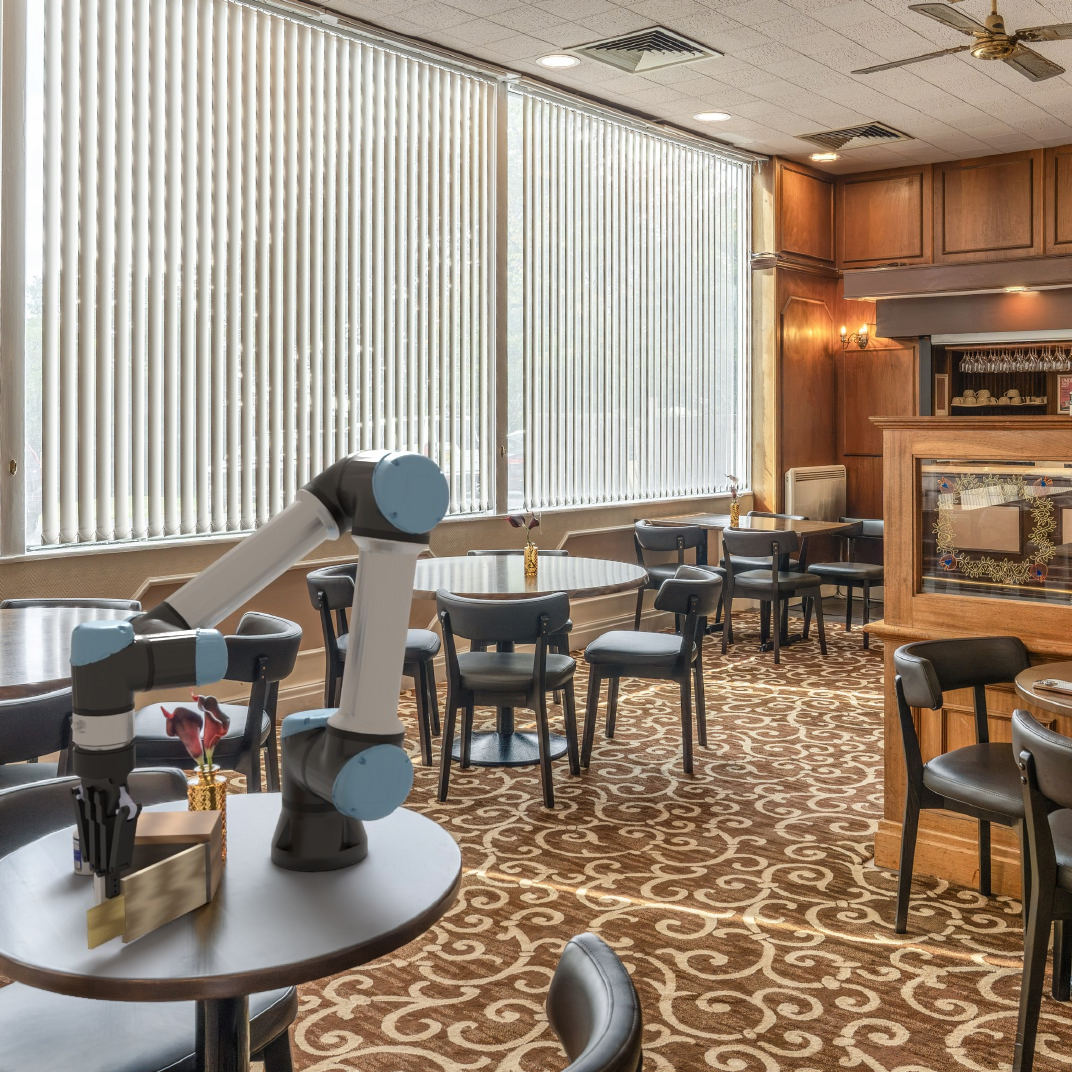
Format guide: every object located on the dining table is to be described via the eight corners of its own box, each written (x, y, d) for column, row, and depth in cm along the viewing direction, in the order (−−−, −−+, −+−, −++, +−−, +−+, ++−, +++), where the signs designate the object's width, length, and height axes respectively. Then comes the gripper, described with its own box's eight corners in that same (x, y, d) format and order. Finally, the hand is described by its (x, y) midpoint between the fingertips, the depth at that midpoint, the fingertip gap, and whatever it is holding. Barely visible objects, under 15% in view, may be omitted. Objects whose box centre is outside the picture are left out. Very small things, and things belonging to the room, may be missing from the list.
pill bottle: (115, 862, 174) (114, 807, 173) (104, 876, 169) (102, 818, 168) (81, 862, 174) (79, 807, 173) (68, 876, 169) (66, 818, 168)
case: (222, 874, 170) (221, 810, 169) (211, 901, 160) (209, 833, 159) (120, 878, 168) (118, 813, 167) (102, 906, 158) (100, 837, 157)
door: (206, 898, 160) (205, 840, 159) (212, 900, 160) (211, 842, 159) (86, 959, 141) (84, 894, 141) (93, 961, 141) (91, 896, 140)
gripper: (49, 739, 145) (53, 915, 147) (106, 758, 137) (109, 943, 139) (102, 727, 151) (105, 897, 153) (159, 745, 143) (162, 923, 145)
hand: (107, 919), depth 146 cm, fingers closed
